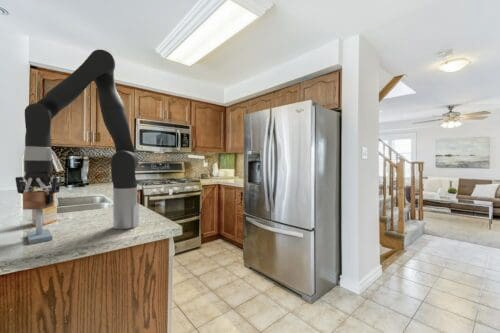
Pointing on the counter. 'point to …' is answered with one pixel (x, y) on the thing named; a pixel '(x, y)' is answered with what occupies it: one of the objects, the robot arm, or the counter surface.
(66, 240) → the counter surface
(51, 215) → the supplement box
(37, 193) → the brown wooden cube
